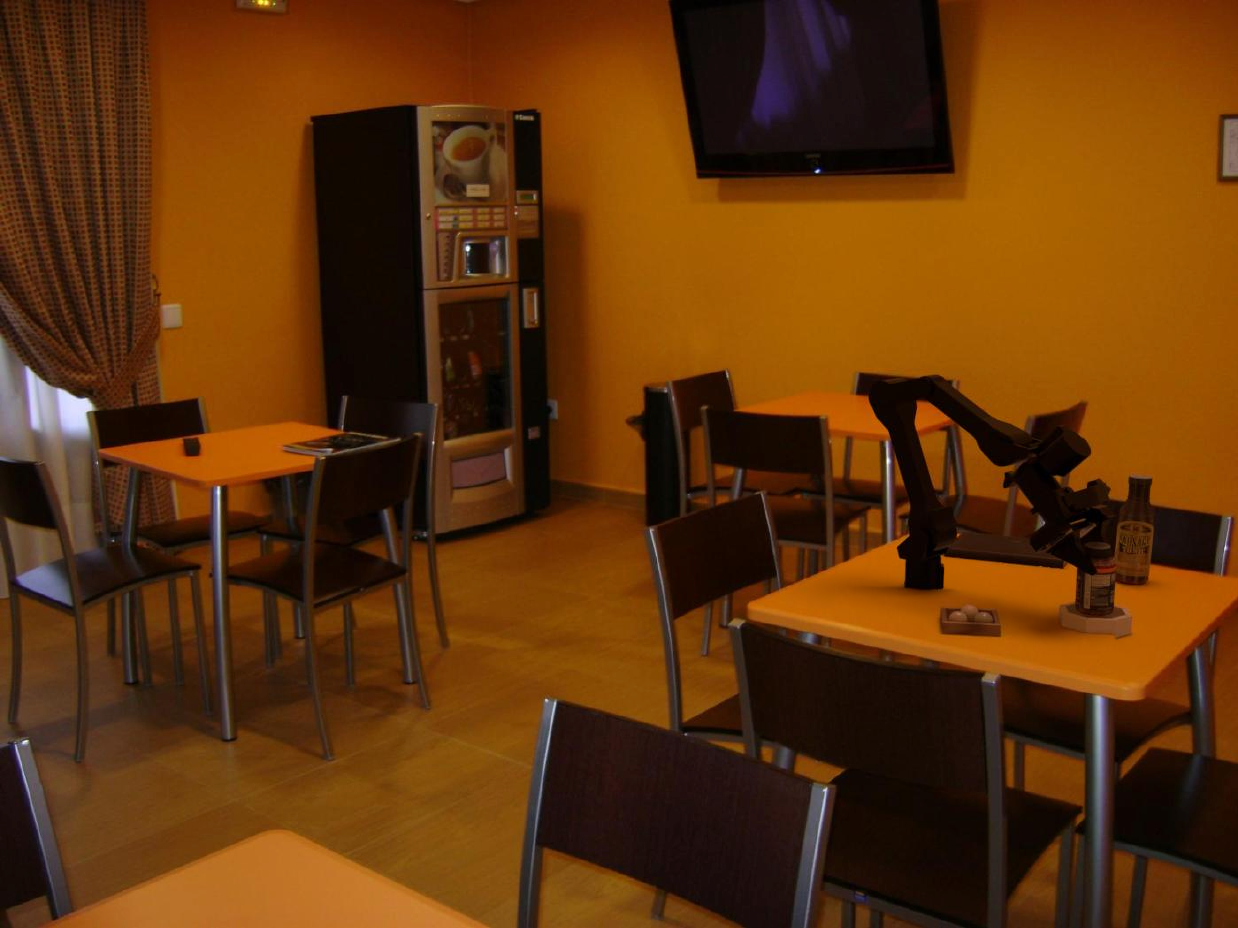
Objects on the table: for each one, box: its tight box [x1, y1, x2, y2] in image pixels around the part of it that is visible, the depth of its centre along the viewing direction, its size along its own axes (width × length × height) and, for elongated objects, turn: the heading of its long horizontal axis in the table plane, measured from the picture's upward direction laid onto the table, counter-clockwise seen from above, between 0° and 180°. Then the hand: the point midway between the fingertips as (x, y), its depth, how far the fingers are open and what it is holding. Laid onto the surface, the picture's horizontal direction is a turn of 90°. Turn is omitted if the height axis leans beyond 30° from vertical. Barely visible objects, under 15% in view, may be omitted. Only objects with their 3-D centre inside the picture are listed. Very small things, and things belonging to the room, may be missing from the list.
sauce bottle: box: [1113, 474, 1156, 585], centre depth 234 cm, size 7×6×20 cm
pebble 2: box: [960, 604, 979, 622], centre depth 209 cm, size 3×3×3 cm
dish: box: [1058, 600, 1133, 639], centre depth 208 cm, size 11×11×3 cm
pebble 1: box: [948, 611, 968, 622], centre depth 206 cm, size 3×3×3 cm
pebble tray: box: [939, 606, 1002, 637], centre depth 207 cm, size 9×9×3 cm
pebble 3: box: [974, 612, 993, 623], centre depth 205 cm, size 3×3×3 cm
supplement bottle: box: [1074, 542, 1116, 617], centre depth 207 cm, size 6×6×11 cm
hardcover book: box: [943, 531, 1068, 570], centre depth 257 cm, size 16×23×2 cm
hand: (1104, 570), depth 206 cm, fingers closed on supplement bottle, 6 cm apart
